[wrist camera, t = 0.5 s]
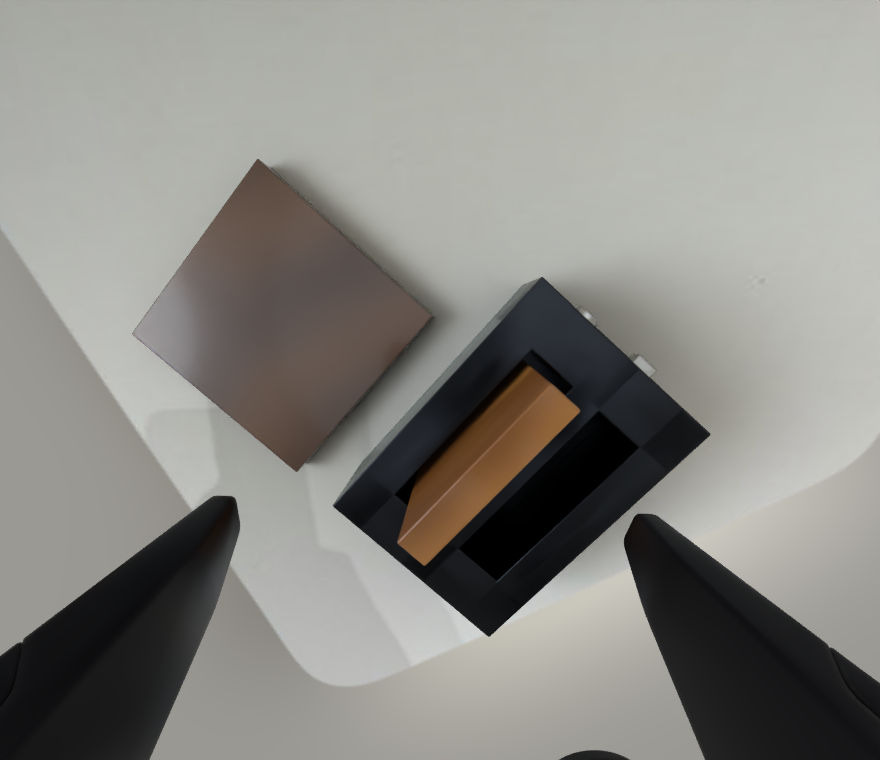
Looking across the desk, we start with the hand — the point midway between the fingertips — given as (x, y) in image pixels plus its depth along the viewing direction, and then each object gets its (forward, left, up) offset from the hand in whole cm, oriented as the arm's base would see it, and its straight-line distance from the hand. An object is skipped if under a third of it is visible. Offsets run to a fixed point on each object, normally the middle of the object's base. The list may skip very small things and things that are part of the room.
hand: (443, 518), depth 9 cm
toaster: (-4, 0, -14) cm, 15 cm away
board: (+10, +4, -14) cm, 18 cm away
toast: (-2, 0, -13) cm, 14 cm away
